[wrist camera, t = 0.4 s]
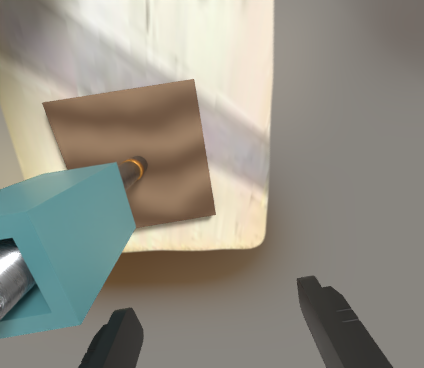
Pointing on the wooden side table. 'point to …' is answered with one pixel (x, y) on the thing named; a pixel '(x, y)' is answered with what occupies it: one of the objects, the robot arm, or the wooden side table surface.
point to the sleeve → (64, 242)
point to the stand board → (142, 146)
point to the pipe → (15, 264)
